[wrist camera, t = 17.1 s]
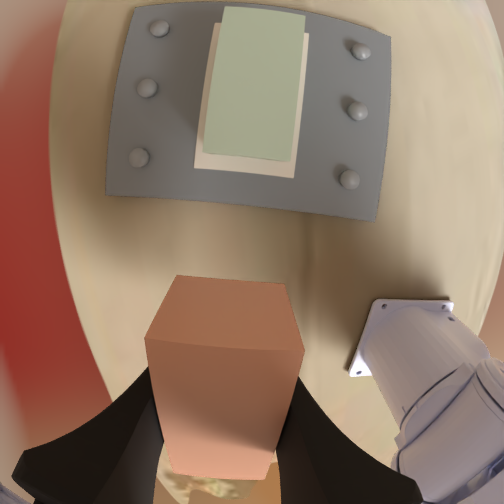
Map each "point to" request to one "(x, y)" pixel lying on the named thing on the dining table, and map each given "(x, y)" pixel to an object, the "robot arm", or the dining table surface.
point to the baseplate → (242, 168)
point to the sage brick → (255, 84)
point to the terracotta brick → (223, 374)
